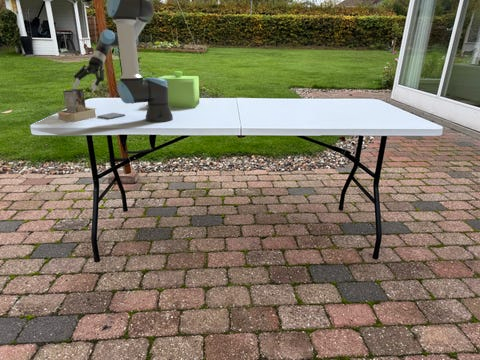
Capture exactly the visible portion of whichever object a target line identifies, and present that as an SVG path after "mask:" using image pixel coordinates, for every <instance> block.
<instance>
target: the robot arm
mask: <svg viewBox="0 0 480 360" xmlns="http://www.w3.org/2000/svg"><path fill="white" fill-rule="evenodd" d="M106 12H107V15H108V17H110V18H112V22H113V23H114V24H115V25H116V33H115V32H113V30H109V29H103V31H102V32H101V33H100V35H99V39H98V42H97V45H96V47H95V48H94V51H93V53H92V55H91V57H90V59H89V60H88V65H87V66H86V65H85V64H84V65H83V66H82V67H81V69H79V70H78V71H77V72H76V73H75V74H74V75H73V77H74V81H73V84H72V86H71V87H72V89H78V87H79V84H80V82H81V80H82V79H83V78H85V77H86V76H87V75H88V76H89V75H90V74H91V75H92V74H93V75H95V77H96V78H94V81H93V83H92V86H91V87H90V88H91V90H92V91H93V92H95V91H96V90H97V87H98V86H99V85H100V83H101V82H105V75H104V74H105V73H104V71H105V67H104V66H103V65H104V63H105V62H106V59H107V57H108V55H109V53H110V51H111V49H112V47H114V48H116V47H117V48H118V49H119V55H120V64H121V71H122V75H120V77H119V80H120V81H118V82H117V83H116V85H117V86H116V87H117V93H118V96H119V97H120V99H121V101H122V102H123V103H124V104H137V103H147V108H146V109H147V110H146V114H145V121H147V122H150V123H151V122H154V123H155V122H156V123H161V122H162V123H163V122H169V121H172V120H173V114H172V111H171V108H169V101H168V85H167V81H166V80H165V79H160V78H159V77H149V76H146V77H145V79H144V77H143V75H141V73H140V67H139V66H140V65H139V57H138V49H137V47H138V46H139V35H140V34H141V33H142V31H143V30H144V28H145V26H146V25H147V24H148V23H150V22H151V21H152V19H153V17H154V14H155V7H154V3H153V1H152V0H106Z"/></svg>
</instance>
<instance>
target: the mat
mask: <svg viewBox="0 0 480 360" xmlns="http://www.w3.org/2000/svg"><path fill="white" fill-rule="evenodd" d="M96 117H97V119H103V118H104V119H103V120H109V119H110V120H113V119H118V118H122V117H126V114H125V113H119V112H110V113H105V114H100V115H96Z"/></svg>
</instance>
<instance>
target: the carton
mask: <svg viewBox="0 0 480 360" xmlns="http://www.w3.org/2000/svg"><path fill="white" fill-rule="evenodd" d="M96 110H97V108H96V107H88V106H86V111H83V112H78V113H67V109H66V110H58V111H57V112H55V114H58V120H61V121H65V122H71V123H75V122H79V121H84V119H85V120H88V119H89V118H90V119H94V118H96V117H97V115H96ZM90 119H89V120H90Z"/></svg>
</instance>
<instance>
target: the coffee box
mask: <svg viewBox="0 0 480 360" xmlns="http://www.w3.org/2000/svg"><path fill="white" fill-rule="evenodd" d="M62 93H63V99H64V102H65V109H66V110H67V113H78V112H83V111H86V107H87V106H86V101H85V95H84V89H82V88H80V89H79V88H77V89H74V88H72V89H67V90H63V92H62Z"/></svg>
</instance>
